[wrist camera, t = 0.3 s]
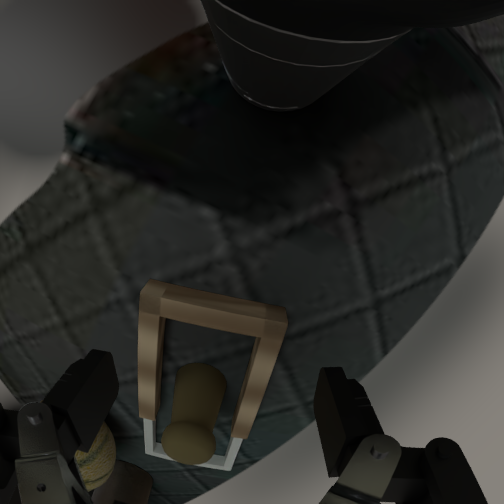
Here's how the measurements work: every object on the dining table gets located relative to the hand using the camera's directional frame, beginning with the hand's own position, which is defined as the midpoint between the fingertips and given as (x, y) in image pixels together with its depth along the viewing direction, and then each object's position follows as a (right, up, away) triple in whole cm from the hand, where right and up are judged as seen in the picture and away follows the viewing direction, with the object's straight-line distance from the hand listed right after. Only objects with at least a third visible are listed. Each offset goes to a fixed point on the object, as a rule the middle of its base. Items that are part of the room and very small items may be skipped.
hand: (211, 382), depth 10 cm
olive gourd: (-4, -10, +22) cm, 25 cm away
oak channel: (-4, -7, +21) cm, 23 cm away
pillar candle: (-22, -37, +31) cm, 53 cm away
